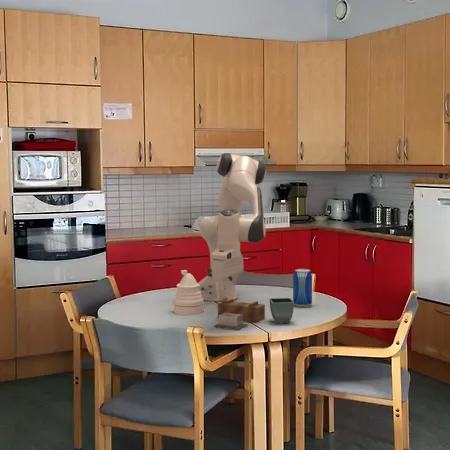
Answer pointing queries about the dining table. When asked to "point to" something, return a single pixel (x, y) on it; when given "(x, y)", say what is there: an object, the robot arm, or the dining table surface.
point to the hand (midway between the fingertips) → (228, 287)
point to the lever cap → (230, 320)
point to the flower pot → (281, 309)
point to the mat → (230, 327)
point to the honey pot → (188, 296)
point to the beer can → (302, 288)
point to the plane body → (243, 309)
